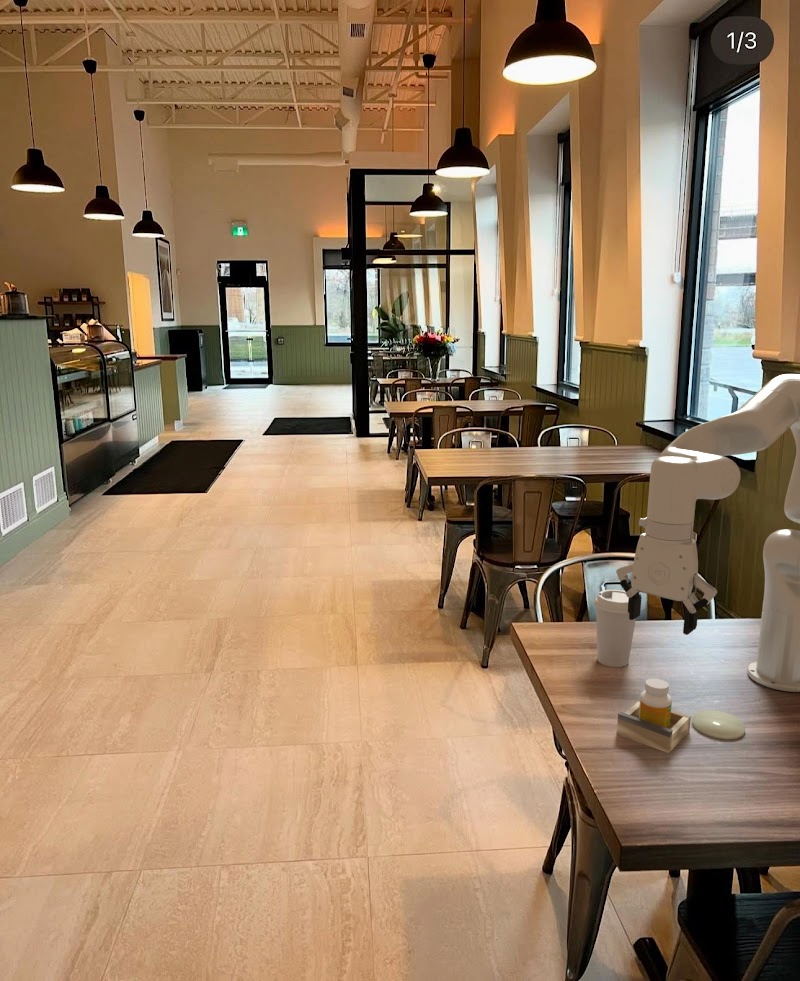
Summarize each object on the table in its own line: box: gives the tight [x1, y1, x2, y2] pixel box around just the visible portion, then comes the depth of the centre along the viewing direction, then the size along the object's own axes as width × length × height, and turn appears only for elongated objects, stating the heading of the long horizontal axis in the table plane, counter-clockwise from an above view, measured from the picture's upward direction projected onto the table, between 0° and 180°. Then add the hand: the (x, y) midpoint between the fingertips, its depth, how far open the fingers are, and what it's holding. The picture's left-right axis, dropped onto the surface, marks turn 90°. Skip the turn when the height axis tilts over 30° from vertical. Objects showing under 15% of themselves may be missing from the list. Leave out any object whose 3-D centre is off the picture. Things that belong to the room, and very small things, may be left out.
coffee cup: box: [593, 589, 637, 668], centre depth 165 cm, size 10×10×15 cm
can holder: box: [616, 699, 692, 754], centre depth 137 cm, size 10×10×4 cm
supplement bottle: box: [639, 678, 673, 729], centre depth 137 cm, size 5×5×10 cm
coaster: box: [691, 709, 746, 740], centre depth 140 cm, size 9×9×1 cm
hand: (660, 624), depth 133 cm, fingers open, 9 cm apart
